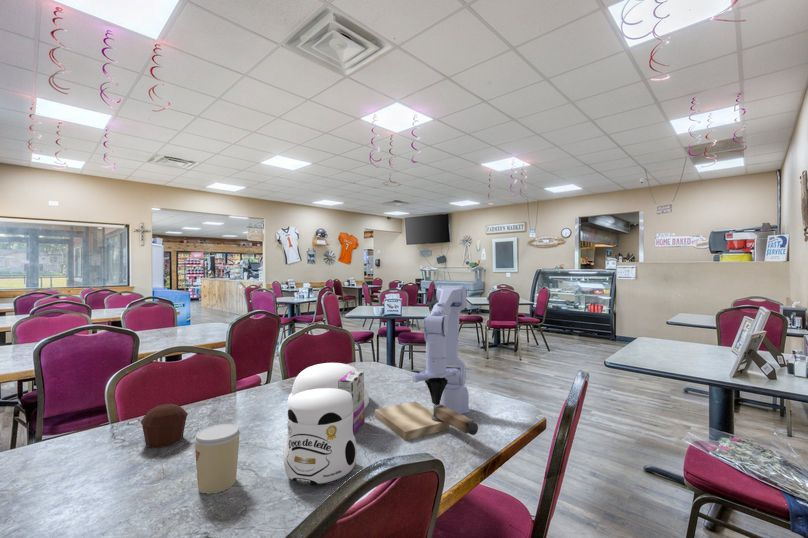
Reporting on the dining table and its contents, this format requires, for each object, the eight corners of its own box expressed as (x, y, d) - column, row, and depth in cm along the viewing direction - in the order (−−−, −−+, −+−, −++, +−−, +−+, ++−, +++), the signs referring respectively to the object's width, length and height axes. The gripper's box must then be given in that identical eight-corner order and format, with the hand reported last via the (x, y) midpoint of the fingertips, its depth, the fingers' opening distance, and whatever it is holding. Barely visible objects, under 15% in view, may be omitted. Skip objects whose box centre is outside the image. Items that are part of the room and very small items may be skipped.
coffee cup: (205, 473, 87) (206, 423, 87) (245, 472, 88) (246, 422, 88) (185, 497, 78) (186, 441, 78) (230, 495, 79) (230, 439, 79)
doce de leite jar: (287, 501, 77) (287, 415, 77) (280, 462, 92) (280, 391, 93) (365, 482, 84) (365, 404, 84) (346, 449, 99) (346, 383, 100)
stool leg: (431, 415, 115) (431, 405, 115) (439, 413, 116) (439, 403, 116) (469, 436, 100) (469, 424, 100) (478, 433, 101) (478, 422, 101)
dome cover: (386, 398, 141) (386, 362, 142) (337, 426, 115) (337, 382, 115) (322, 386, 157) (323, 353, 157) (266, 408, 130) (266, 369, 131)
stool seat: (415, 408, 130) (415, 399, 130) (450, 428, 113) (450, 418, 113) (375, 417, 122) (375, 407, 122) (405, 440, 105) (405, 429, 105)
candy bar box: (350, 420, 119) (350, 370, 120) (364, 421, 118) (364, 371, 119) (337, 435, 108) (337, 379, 109) (353, 436, 107) (353, 380, 108)
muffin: (196, 435, 108) (197, 402, 108) (161, 453, 98) (161, 415, 98) (167, 430, 112) (168, 397, 112) (130, 446, 101) (130, 410, 102)
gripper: (420, 362, 99) (420, 412, 99) (464, 357, 105) (464, 404, 105) (408, 357, 105) (409, 404, 105) (451, 352, 112) (451, 396, 111)
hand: (436, 403), depth 106 cm, fingers closed
